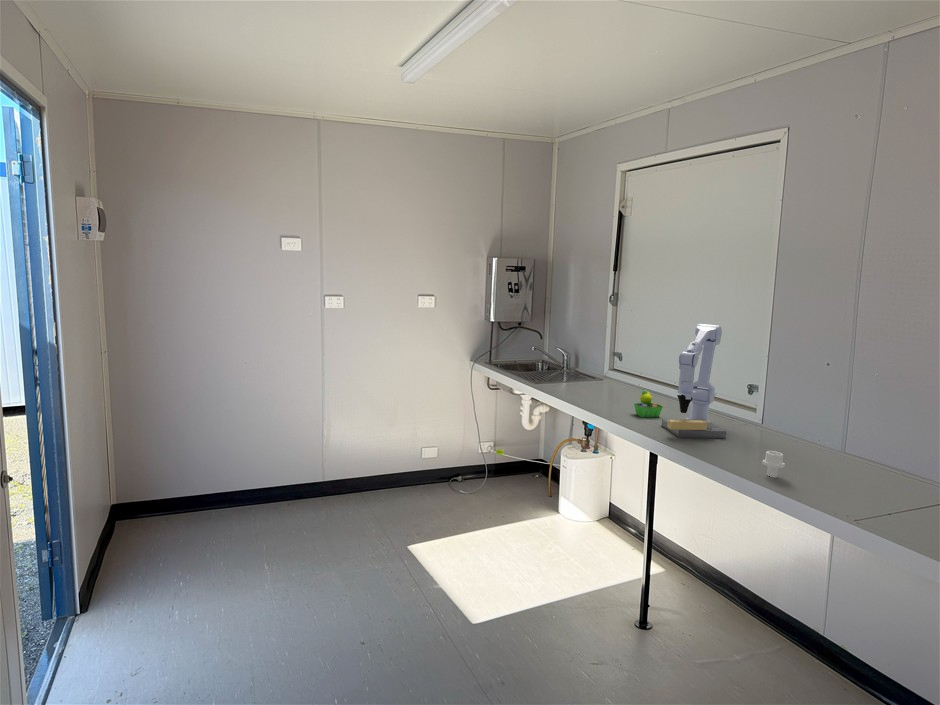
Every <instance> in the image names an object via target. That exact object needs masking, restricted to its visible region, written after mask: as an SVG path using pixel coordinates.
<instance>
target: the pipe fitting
mask: <svg viewBox="0 0 940 705" xmlns="http://www.w3.org/2000/svg"><path fill="white" fill-rule="evenodd" d="M783 460H784V454H783V453H782V452H779V451H776V450H767V451H766V452H765V459H763V460H762V461H761V464H762V465H764V466H765V467H767V469H766V470H767V471H766V476H767V475H768V476H767V477H769V476H770V478H777V477H778V475H779V469H782V468H785V466H786V463H785V462H783Z"/></svg>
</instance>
